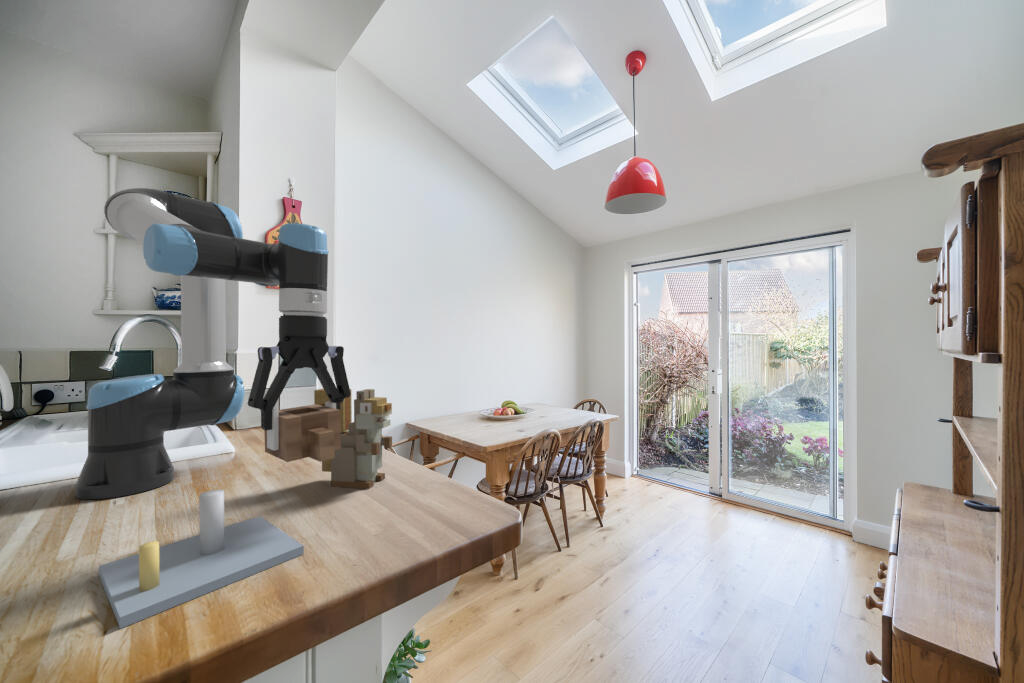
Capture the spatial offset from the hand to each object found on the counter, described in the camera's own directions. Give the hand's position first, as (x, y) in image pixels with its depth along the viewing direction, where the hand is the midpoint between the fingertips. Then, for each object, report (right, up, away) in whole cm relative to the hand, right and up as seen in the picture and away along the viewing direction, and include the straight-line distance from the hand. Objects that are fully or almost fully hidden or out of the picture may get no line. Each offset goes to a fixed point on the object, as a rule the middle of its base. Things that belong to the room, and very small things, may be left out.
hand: (303, 442), depth 71 cm
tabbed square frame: (+2, -1, -1) cm, 2 cm away
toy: (+2, -13, +17) cm, 21 cm away
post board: (-5, -13, -15) cm, 21 cm away
